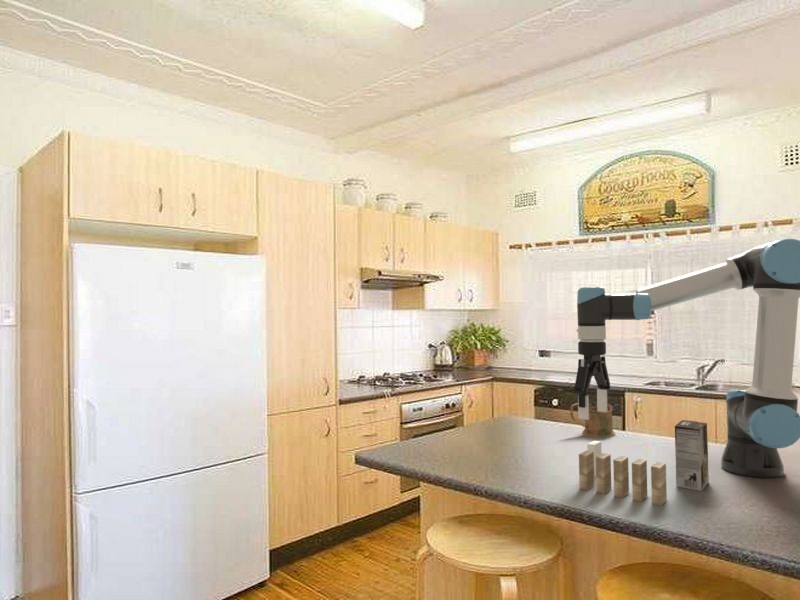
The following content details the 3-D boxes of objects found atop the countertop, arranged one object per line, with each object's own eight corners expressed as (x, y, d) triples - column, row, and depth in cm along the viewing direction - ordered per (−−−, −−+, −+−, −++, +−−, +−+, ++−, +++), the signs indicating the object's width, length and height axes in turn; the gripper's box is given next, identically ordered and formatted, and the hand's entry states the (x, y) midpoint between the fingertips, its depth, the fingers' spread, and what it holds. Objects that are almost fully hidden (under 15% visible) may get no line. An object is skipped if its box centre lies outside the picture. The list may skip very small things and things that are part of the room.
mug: (562, 433, 207) (561, 401, 207) (601, 429, 212) (601, 398, 212) (581, 440, 196) (580, 406, 196) (622, 435, 201) (621, 403, 201)
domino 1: (594, 485, 146) (593, 451, 146) (587, 490, 142) (586, 455, 142) (587, 483, 147) (586, 450, 148) (579, 488, 144) (578, 454, 144)
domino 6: (666, 499, 134) (665, 463, 134) (660, 505, 131) (659, 467, 131) (658, 498, 136) (657, 461, 136) (651, 503, 132) (651, 466, 132)
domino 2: (601, 472, 157) (601, 441, 157) (595, 477, 153) (594, 444, 153) (595, 471, 158) (594, 440, 158) (588, 475, 154) (587, 443, 154)
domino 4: (629, 492, 140) (628, 457, 140) (622, 497, 136) (621, 461, 137) (621, 490, 142) (620, 455, 142) (614, 495, 138) (613, 460, 138)
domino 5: (647, 496, 137) (646, 460, 137) (641, 501, 133) (640, 464, 134) (639, 494, 139) (638, 458, 139) (632, 499, 135) (631, 463, 135)
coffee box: (683, 478, 151) (681, 419, 151) (709, 482, 147) (708, 422, 147) (675, 486, 144) (673, 425, 144) (702, 491, 140) (700, 428, 140)
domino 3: (611, 488, 143) (610, 454, 143) (604, 493, 139) (603, 458, 140) (603, 487, 144) (603, 453, 145) (596, 492, 141) (595, 457, 141)
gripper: (595, 338, 168) (597, 407, 168) (560, 342, 150) (561, 420, 149) (620, 338, 163) (622, 410, 163) (587, 343, 145) (588, 424, 144)
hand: (593, 415), depth 156 cm, fingers open, 13 cm apart
